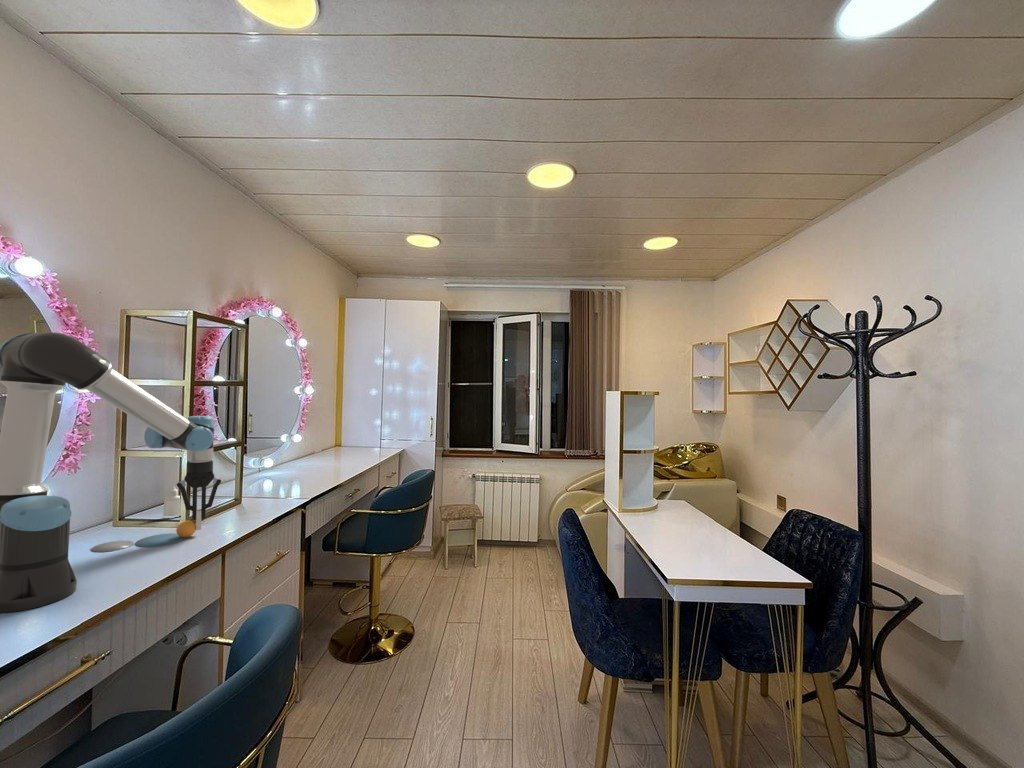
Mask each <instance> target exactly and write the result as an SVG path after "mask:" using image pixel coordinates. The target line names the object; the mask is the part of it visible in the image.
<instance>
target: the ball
mask: <svg viewBox="0 0 1024 768" xmlns="http://www.w3.org/2000/svg"><path fill="white" fill-rule="evenodd" d="M175 531H176V534H178V535H179V536H180V537H185V538H190V537H191V536H193V535H194V534H195V533H196V531H197V530H196V522H194V521H193V520H192V521H191V520H183V521H181V522H180V523H179V524H178V525H177V527H176V530H175Z"/></svg>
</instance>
